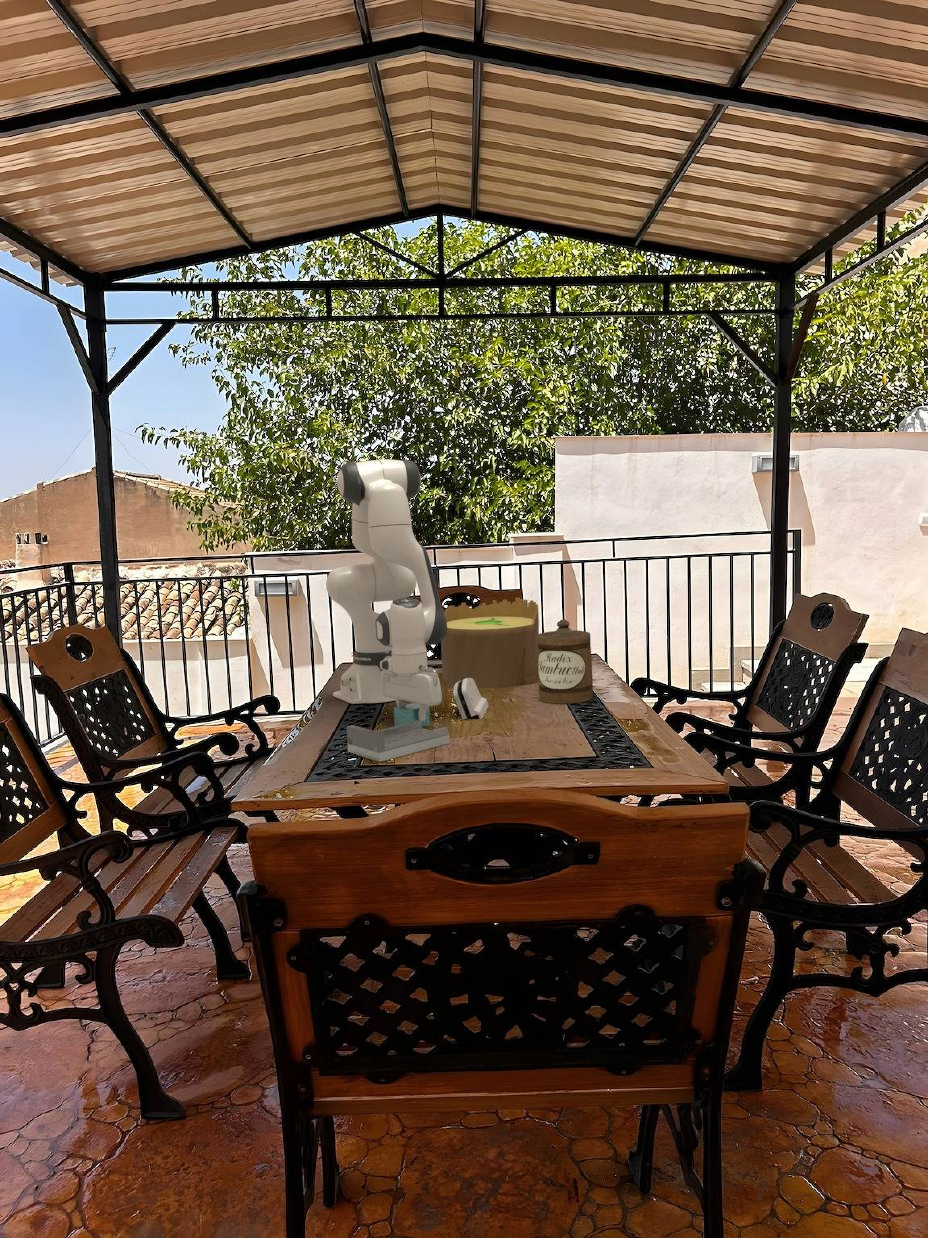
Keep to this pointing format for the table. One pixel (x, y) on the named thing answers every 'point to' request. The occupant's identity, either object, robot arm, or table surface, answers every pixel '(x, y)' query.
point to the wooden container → (565, 665)
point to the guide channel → (394, 740)
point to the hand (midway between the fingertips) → (412, 718)
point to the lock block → (409, 714)
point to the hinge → (469, 699)
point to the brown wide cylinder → (491, 644)
